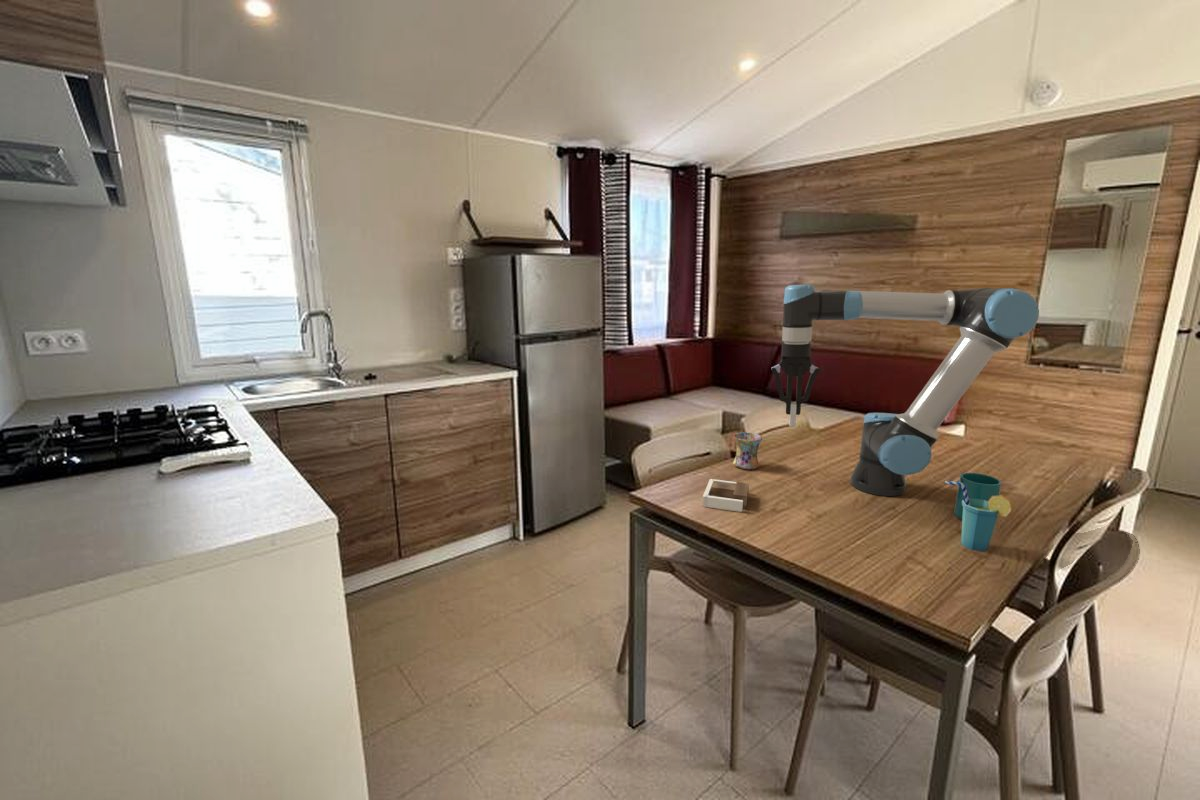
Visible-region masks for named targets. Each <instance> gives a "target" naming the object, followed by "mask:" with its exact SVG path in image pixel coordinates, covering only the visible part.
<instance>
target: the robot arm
mask: <svg viewBox="0 0 1200 800" xmlns="http://www.w3.org/2000/svg"><path fill="white" fill-rule="evenodd" d="M782 304H783V308H782V312H783V314H782V315H783V316H782V333H781V334H782V335H781V341H782V342H783V343H782V344H781V354H780V355H781V357H780V360H779V363H778V364H776V365H773V366H772V367H771V369H770V370H771V372H772V374H773V375H774V379H775V382H776V388H777V392H778V396H779V400H780V401H781V402H783V403H785V413H786V415H789V424H788V425H789V427H790V428H796V425H797V424H796V422H797V415H798V416H800V414H801V407H802V404H803V403H807V402H808V401H809V399H810V396H811V391H812V389H813V387H814V383H815V380H816V377H817V376H818V375H819V373H820V371H821V370H820V368H819V367H818V366H815V365H814V364H813V362H812V360H811V351H812V344H811V343H810V342H811V341H812V332H813V321H851V320H858V319H859V318H862V319H879V320H880V319H881V320H905V321H923V322H924V321H926V322H929V321H930V322H939V324H941V325H942V326H954V327H959V331H960V332H959V333H960V337H959V339H958V340H957V341H956V343H955V344H954V346H953V347H952V348H951V349H950V351H949V352H948V353H947V355H946V357H944V359H943V360H942V362H941V363H940V364H939V366H938V367H937V369H936V370H935V371H934V373H933V374H932V375H931V377H930V378H929V380H927V382H926V384H925V385H924V386H923V388H922V390H921V391H920V392H919V393H918V394H917V396H916V398H915V399H914V401H913V402H912V403H911V404H910V406H909V407H908V408H907V410H906V411H905V412H904V413H890V412H889V413H888V412H868V413H866V414H865V415H864V418H863V419H864V420H863V421H862V425H863V426H862V433H861V434H862V435H861V441H860V442H861V443H860V453H859V460H858V461H857V463H856V464H855V465H856V466H855V467H854V469H853V471H852V472H851V474H850V475H851V476H850V482H849V483H850V485H851V486H852V487H853V488H854V489H856V490H859V491H860V492H864V493H865V494H866V493H867V494H870V495H876V496H882V497H883V496H884V497H897V496H902V495H904V494H905V493H906V490H907V482H906V477H905V476H909V475H915V474H918V473H920V472H922V471H923V470H924V469H926V468H927V466H928V465H929V464H930V461H931V460H932V449H931V448H932V447H933V446H934V445H935V443H936V442H937V441H938V438H939V436H938V432H937V431H938V428H939V427H940V426H941V425H942V424H943V422H944V421H945V420H946V418H947V417H948V416H949V414H950V413H951V411H953V409H954V407H955V406H956V405H957V404H958V403H959V401H960V400H961V398H962V397H963V396H964V394H965V393H966V392H967V391H968V388H970V386H971V385H972V384H973V382H974V381H975V379H976V378H977V377H978V376H979V374H980V373H981V372H982V370H984V368H985V366H987V365H988V362H989V361H990V360H991V359H992V357H993V356H994V355H995V353H997V352H1002V351H1005V350H1007V349H1008V347H1009V346H1010V344H1012V343H1013V341H1014V339H1016V338H1019V337H1022V336H1024V335H1026V334H1028V333H1029V332H1031V331H1032V330H1033V329H1034V328H1035V327H1036V325H1037V323H1038V320H1039V317H1040V309H1039V305H1038V302H1037V300H1036V299H1035V298H1034V297H1033V296H1032V295H1031V294H1030V293H1029V292H1026V291H1024V290H1021V289H1016V288H1013V287H1004V288H999V287H998V288H997V287H982V288H973V289H972V288H971V289H957V290H956V289H955V290H953V289H950V290H949V289H947V290H945V291H944V292H943V293H937V292H936V293H932V292H931V293H930V292H901V291H900V292H897V291H895V292H894V291H871V290H870V291H869V290H868V291H867V290H864V291H863V290H837V289H836V290H834V289H823V290H820V291H816V290H815V287H814V285H813V284H792V285H791V284H790V285H787V286H786V287H785V289H784V298H783V303H782ZM781 369H782V371H783V373H784V374H785V375H787V378H786V379H787V380H786V396H785V394H784V391H783V385H782V380H781V376H780V375H781V374H780V373H781ZM808 371H809V372H810V375H809V377H808V380H807V384H806V386H805V390H804V393H803V395H802V391H803V388H802V387H803V377H804V375H805V374H806V373H807V372H808ZM793 377H796V389H795V390H796V391H795V392H796V393H795V401H792V394H793V392H792V391H793Z"/></svg>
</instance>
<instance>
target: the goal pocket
mask: <svg viewBox="0 0 1200 800" xmlns="http://www.w3.org/2000/svg"><path fill="white" fill-rule="evenodd" d="M737 482H738V481H730V480H723V479H722V480H721V479H714V478H710V479H709V480H708V483H707V485H706V487H705V489H704V492H703V495H702V500H701V501H702V503H701V507H703V508H711V509H717V510H725V511H732V512H740V513H743V509H742V508H743V500H738V499H731V498H723V497H716V496H711V486H712V484H713V483H719V484H727V485H734V486H736V483H737Z"/></svg>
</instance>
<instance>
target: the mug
mask: <svg viewBox="0 0 1200 800" xmlns="http://www.w3.org/2000/svg"><path fill="white" fill-rule="evenodd" d="M733 439H734V442H735V445H736V453H735V458H734V460H733V462H732V464H733V466H735V467H737V468H740V469H743V470H754V469H758V468H759V466H760V463H759V460H758V450H759V446H760V444H761V442H762V440H763V436H762V435H761V434H757V433H754V432H753V433H752V432H744V431H743V432H736V433H734V434H733Z"/></svg>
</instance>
